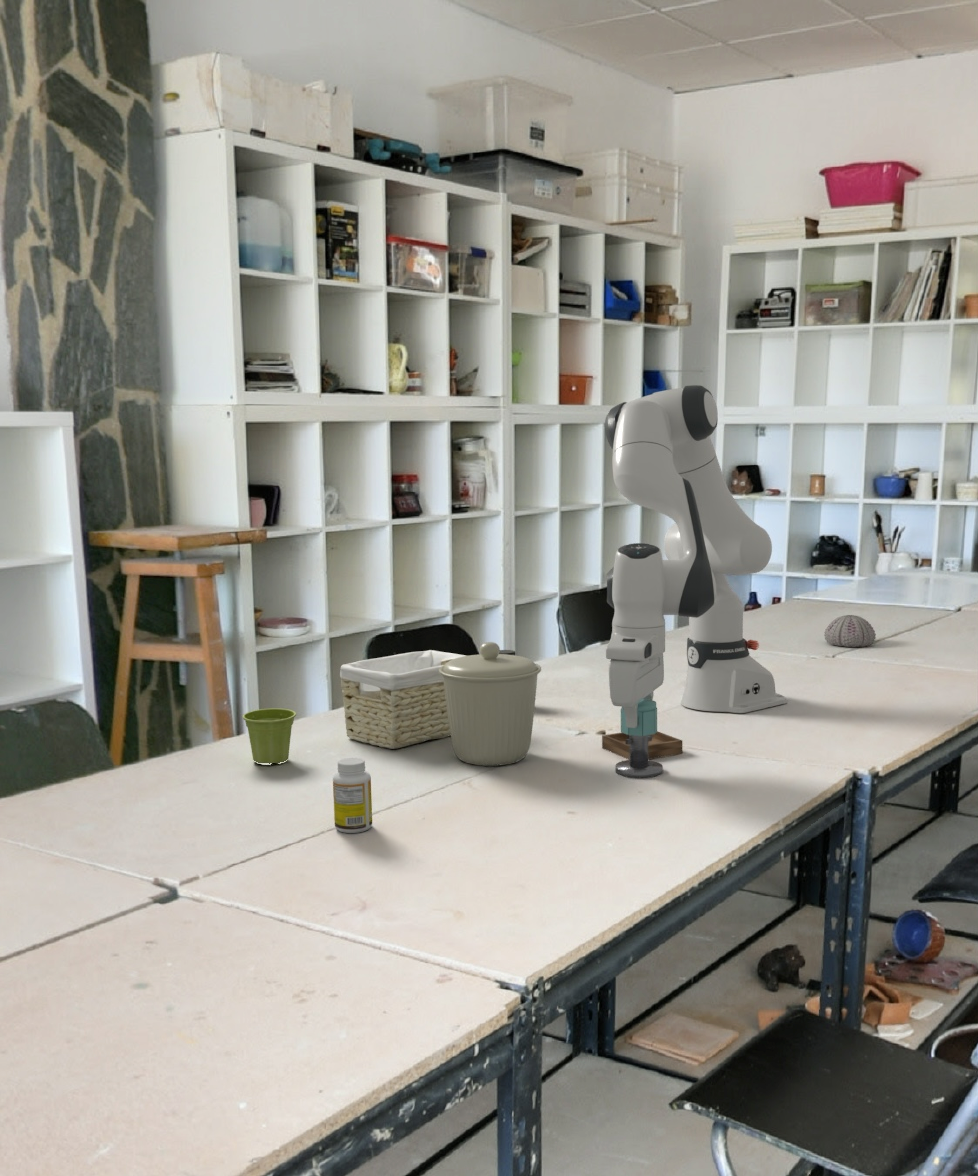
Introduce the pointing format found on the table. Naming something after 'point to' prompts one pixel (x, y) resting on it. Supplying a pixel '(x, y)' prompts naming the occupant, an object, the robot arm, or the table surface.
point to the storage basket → (396, 699)
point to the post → (638, 760)
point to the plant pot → (270, 734)
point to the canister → (490, 705)
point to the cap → (642, 719)
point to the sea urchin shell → (850, 632)
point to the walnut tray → (656, 747)
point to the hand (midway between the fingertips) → (638, 721)
